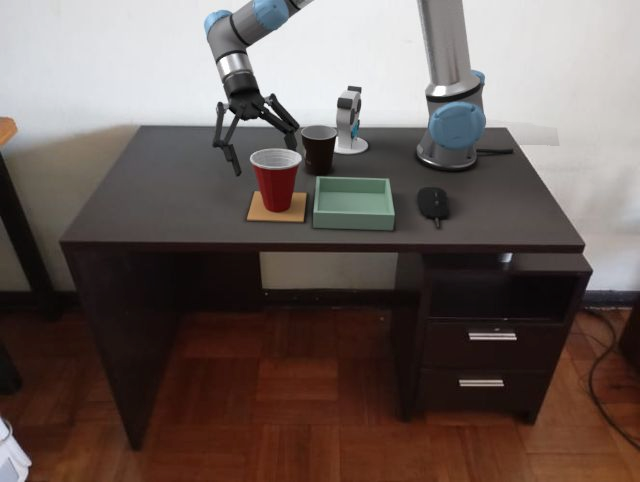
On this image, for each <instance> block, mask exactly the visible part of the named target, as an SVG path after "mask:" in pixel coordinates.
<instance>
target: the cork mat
mask: <svg viewBox="0 0 640 482" xmlns="http://www.w3.org/2000/svg"><path fill="white" fill-rule="evenodd" d="M253 192H254V193H253V195H252V200H251V204H250V207H249V211H248V214H247V218H246V221H247V222H273V223H300V224H301V223H302V224H303V223H304V220H305V213H306V212H305V211H306V203H307V192H294V191H293V195H292V201H291V205H290V208H289V209H288V210H286V211H283V212H271V211H268V210H267V209H266V208H265V206H264V204H263V199H262V195H261V193H260V190H255V191H253Z"/></svg>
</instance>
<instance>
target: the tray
mask: <svg viewBox="0 0 640 482" xmlns="http://www.w3.org/2000/svg"><path fill="white" fill-rule="evenodd" d="M390 183H391V182H390V178H381V177H379V178H378V177H377V178H375V177H350V176H349V177H347V176H321V175H316V182H315V189H314V190H315V193H314V202H313V203H314V204H313V219H312V220H313V221H312V222H313V226H312V227H313V229H339V230H340V229H341V230H367V231H369V230H371V231H394V225H395V218H396V217H395V216H396V215H395V208H394V201H393V195H392V188H391V184H390Z"/></svg>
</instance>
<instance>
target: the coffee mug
mask: <svg viewBox="0 0 640 482" xmlns="http://www.w3.org/2000/svg"><path fill="white" fill-rule="evenodd" d="M300 136H301V142H302V143H301V144H302V151H303V158H304V166H305V167H304V168H305V172H306V173H308V174H309V175H312V176H325V175H328V174H330V173H331V171H332V167H333V160H334V156H335V155H334V154H335V152H334V148H335V142H336V137H338V130H337V129H335V128H334V127H332V126H329V125H323V124H315V125H308V126H305V127H303V128H302V129H301V131H300Z"/></svg>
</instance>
